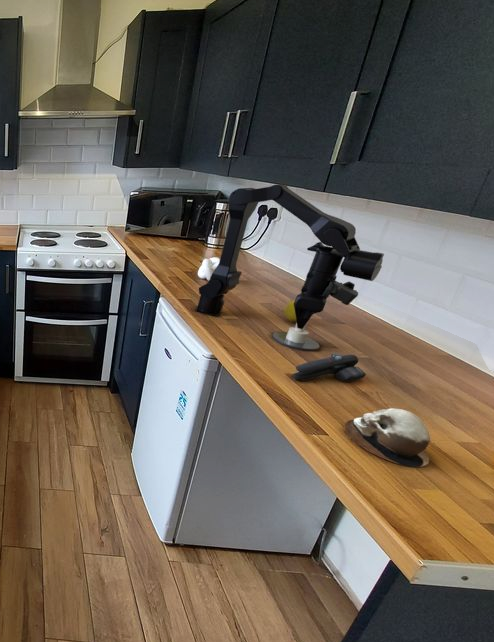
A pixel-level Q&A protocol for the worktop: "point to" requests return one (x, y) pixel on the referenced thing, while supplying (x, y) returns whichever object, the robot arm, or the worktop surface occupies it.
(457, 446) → the worktop surface
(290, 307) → the lemon
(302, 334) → the pestle
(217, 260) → the white rounded lump
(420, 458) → the skull
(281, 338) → the coaster
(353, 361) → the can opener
